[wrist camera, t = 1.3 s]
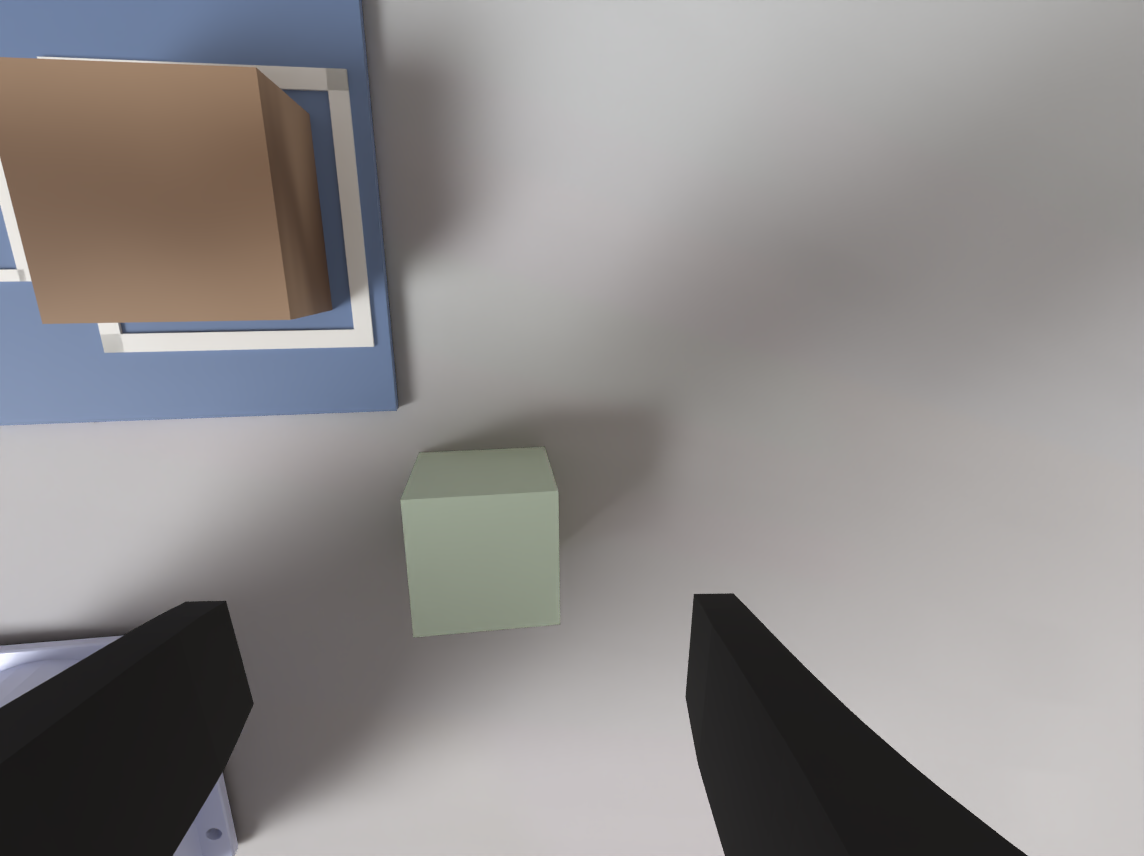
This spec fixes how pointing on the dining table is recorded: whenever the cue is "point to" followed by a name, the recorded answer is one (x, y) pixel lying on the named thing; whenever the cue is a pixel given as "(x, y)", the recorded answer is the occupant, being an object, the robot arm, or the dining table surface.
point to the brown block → (162, 192)
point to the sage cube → (481, 541)
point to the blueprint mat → (214, 348)
